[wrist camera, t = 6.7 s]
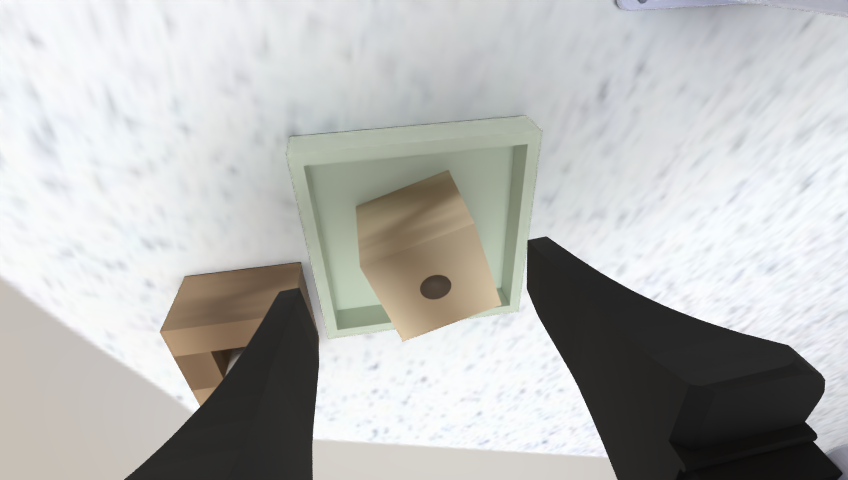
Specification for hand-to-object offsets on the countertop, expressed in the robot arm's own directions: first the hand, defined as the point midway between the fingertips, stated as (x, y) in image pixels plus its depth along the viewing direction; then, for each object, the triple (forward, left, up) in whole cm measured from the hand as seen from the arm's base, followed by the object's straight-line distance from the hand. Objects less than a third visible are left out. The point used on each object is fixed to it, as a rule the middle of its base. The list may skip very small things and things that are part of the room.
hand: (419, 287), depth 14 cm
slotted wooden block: (+8, +8, -9) cm, 15 cm away
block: (-1, +4, -9) cm, 10 cm away
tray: (-1, +4, -9) cm, 10 cm away
